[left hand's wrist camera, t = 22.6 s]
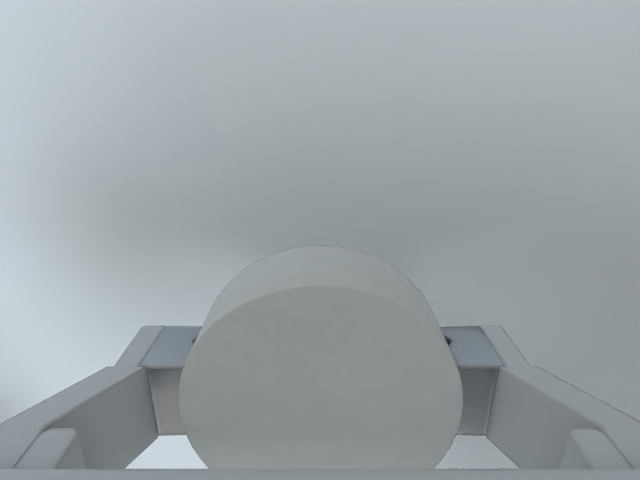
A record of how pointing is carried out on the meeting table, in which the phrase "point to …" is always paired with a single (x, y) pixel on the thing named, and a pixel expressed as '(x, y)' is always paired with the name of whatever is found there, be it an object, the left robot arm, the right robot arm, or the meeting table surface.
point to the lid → (320, 369)
